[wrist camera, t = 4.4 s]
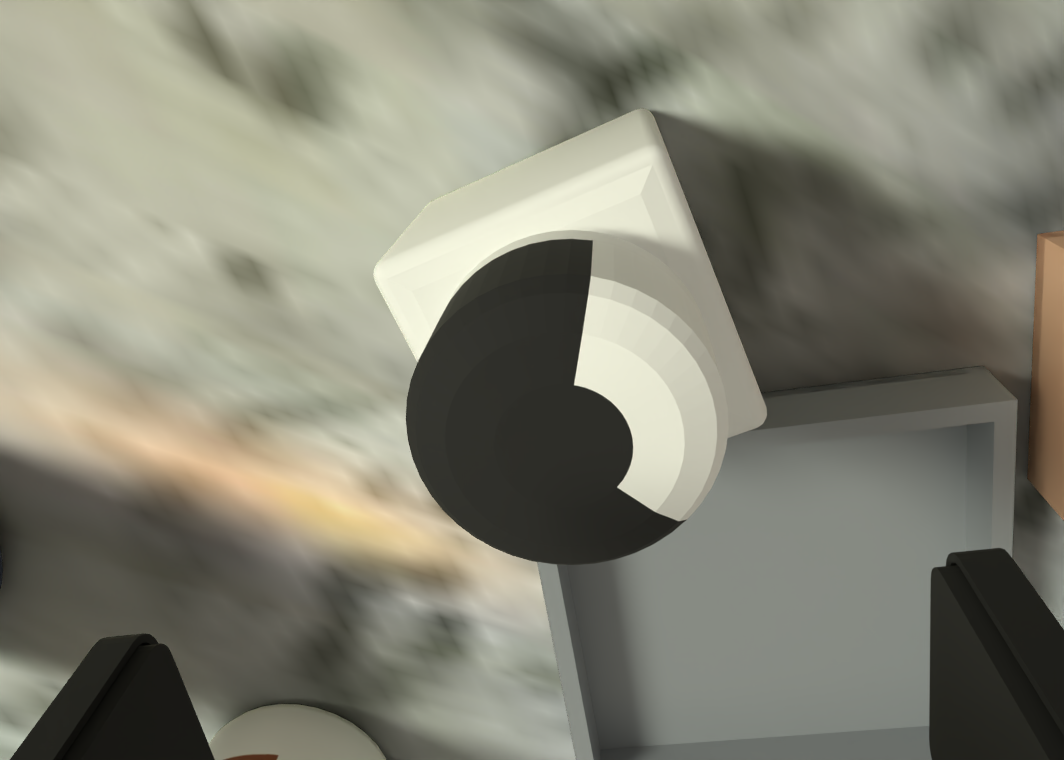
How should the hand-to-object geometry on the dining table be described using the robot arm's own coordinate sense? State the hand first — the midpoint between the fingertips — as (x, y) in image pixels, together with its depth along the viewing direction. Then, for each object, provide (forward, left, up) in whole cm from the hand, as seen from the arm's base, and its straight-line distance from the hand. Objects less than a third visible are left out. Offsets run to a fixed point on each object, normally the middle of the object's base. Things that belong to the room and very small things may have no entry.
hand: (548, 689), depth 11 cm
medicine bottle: (0, 0, -18) cm, 18 cm away
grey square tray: (+12, +5, -18) cm, 22 cm away
